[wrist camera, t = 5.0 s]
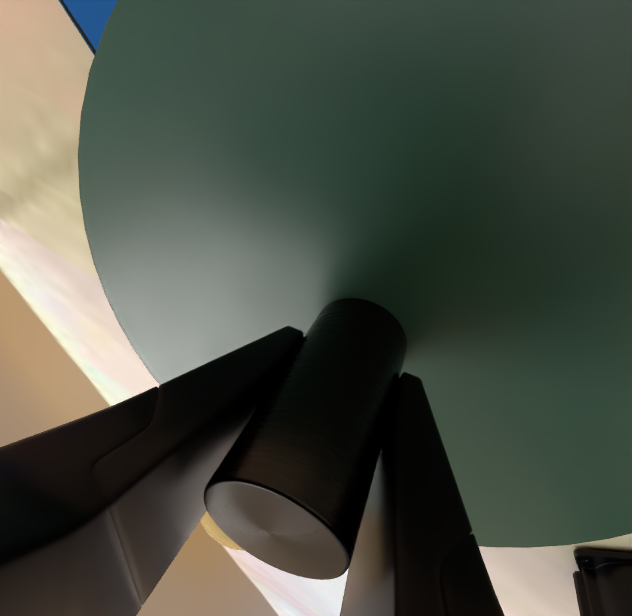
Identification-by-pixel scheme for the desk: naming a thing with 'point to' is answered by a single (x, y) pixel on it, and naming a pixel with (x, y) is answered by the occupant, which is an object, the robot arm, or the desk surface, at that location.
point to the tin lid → (380, 247)
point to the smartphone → (89, 18)
